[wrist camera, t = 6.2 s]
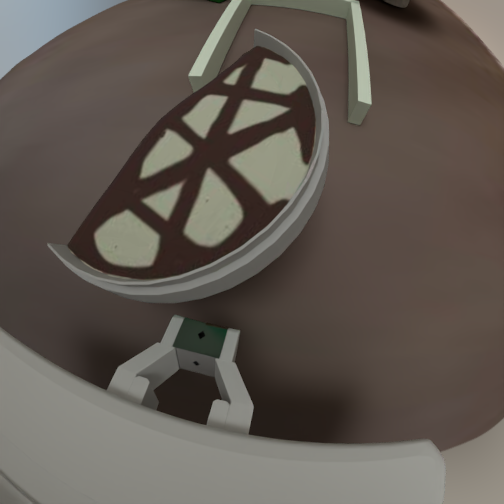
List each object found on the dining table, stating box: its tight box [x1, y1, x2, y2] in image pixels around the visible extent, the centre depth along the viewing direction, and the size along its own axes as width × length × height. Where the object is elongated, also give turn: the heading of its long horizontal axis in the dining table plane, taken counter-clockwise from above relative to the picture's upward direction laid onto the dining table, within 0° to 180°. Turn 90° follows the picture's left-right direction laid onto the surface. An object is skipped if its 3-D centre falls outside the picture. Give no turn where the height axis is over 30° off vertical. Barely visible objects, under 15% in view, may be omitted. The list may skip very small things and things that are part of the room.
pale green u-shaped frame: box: [188, 0, 371, 125], centre depth 18 cm, size 13×18×3 cm
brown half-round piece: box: [47, 29, 329, 303], centre depth 12 cm, size 12×6×10 cm, turn 142°
